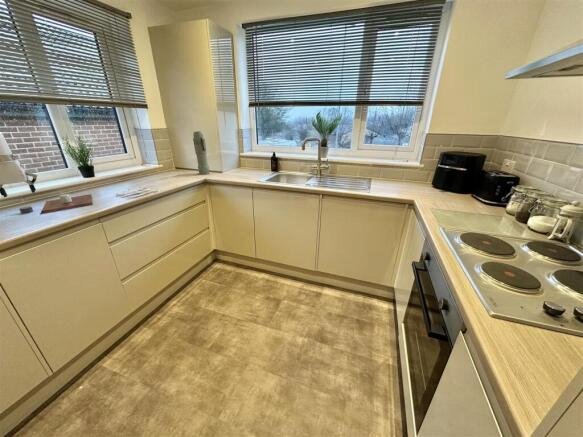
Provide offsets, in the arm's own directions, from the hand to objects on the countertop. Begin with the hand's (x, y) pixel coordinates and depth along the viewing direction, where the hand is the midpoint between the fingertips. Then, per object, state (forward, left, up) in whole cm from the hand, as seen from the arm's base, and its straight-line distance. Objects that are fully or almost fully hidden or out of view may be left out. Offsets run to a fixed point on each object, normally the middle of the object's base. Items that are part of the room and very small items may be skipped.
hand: (20, 194), depth 118 cm
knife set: (+55, +11, -11) cm, 57 cm away
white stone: (+15, +9, -9) cm, 19 cm away
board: (+15, +9, -11) cm, 20 cm away
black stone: (0, 0, -11) cm, 11 cm away
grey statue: (+105, +38, -11) cm, 112 cm away
